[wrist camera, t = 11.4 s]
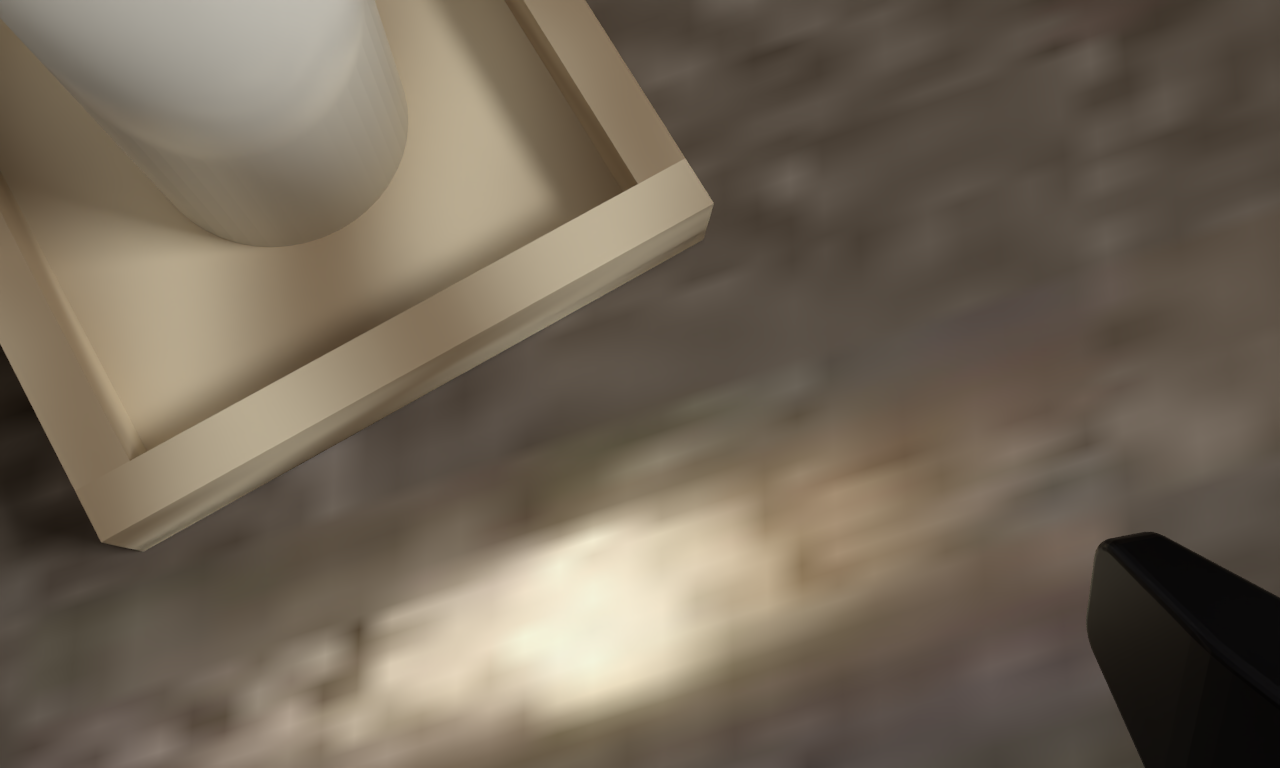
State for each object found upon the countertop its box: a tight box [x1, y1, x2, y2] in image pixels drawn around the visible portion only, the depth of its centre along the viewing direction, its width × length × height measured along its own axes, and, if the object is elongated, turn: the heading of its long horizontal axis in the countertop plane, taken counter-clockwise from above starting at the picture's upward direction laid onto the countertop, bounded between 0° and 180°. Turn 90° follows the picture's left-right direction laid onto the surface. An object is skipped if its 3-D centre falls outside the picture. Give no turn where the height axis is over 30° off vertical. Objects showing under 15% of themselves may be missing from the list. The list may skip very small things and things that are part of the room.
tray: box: [0, 0, 714, 552], centre depth 23 cm, size 12×12×2 cm
